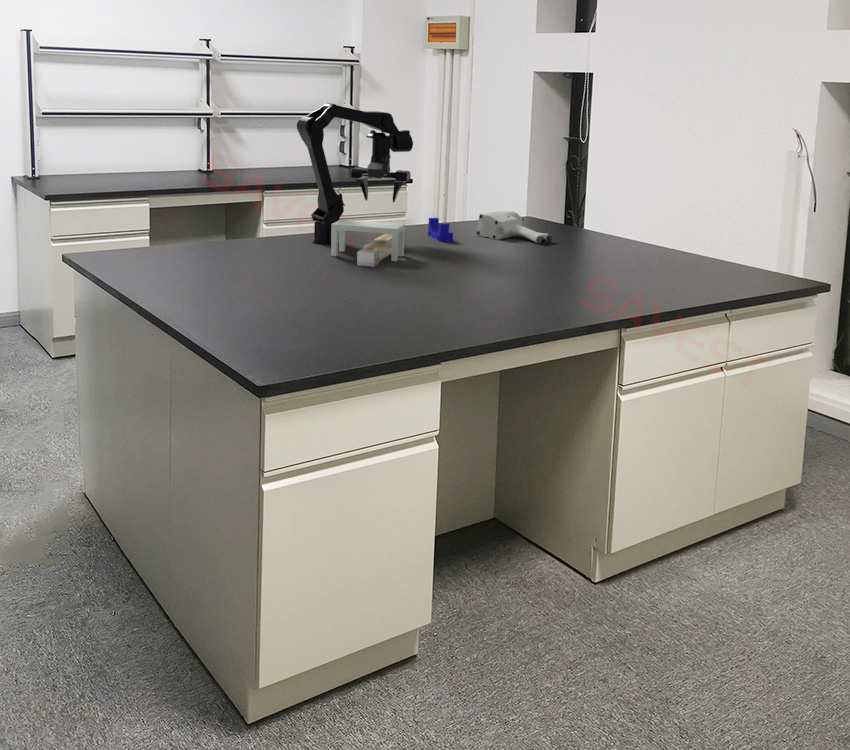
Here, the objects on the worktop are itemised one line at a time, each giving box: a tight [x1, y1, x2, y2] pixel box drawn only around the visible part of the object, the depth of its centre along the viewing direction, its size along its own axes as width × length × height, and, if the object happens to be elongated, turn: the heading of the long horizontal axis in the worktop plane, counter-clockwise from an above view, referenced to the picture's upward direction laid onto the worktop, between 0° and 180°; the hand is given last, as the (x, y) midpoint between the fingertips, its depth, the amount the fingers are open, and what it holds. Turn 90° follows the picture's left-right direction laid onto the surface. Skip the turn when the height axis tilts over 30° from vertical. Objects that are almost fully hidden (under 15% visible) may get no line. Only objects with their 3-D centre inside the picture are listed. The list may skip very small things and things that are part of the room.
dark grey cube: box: [356, 248, 380, 268], centre depth 285 cm, size 5×5×4 cm
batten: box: [363, 233, 392, 262], centre depth 298 cm, size 4×25×5 cm, turn 166°
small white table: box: [330, 219, 405, 262], centre depth 295 cm, size 20×9×10 cm, turn 77°
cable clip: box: [427, 217, 454, 243], centre depth 328 cm, size 12×4×6 cm, turn 19°
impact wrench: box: [476, 210, 553, 246], centre depth 336 cm, size 8×23×25 cm
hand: (380, 201), depth 321 cm, fingers open, 9 cm apart
